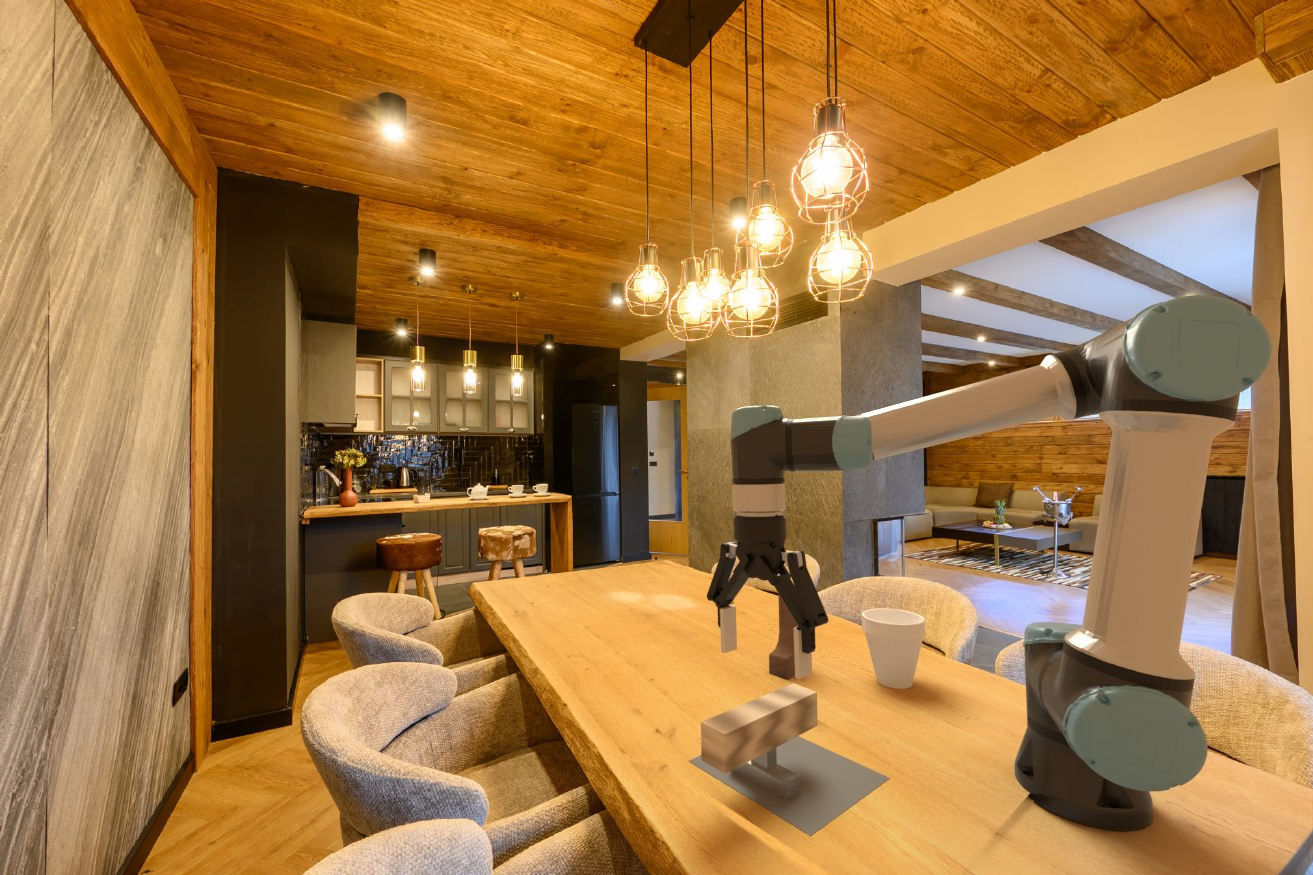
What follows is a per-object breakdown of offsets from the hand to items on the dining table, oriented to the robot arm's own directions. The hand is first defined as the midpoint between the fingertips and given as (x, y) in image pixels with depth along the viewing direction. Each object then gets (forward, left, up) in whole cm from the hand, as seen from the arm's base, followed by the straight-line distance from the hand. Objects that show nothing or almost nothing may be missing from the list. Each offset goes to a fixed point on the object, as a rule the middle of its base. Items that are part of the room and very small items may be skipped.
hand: (764, 662), depth 80 cm
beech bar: (0, 0, -11) cm, 11 cm away
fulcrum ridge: (0, 0, -18) cm, 18 cm away
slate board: (0, -5, -18) cm, 18 cm away
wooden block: (+25, -38, -18) cm, 49 cm away
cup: (+7, -50, -18) cm, 53 cm away
